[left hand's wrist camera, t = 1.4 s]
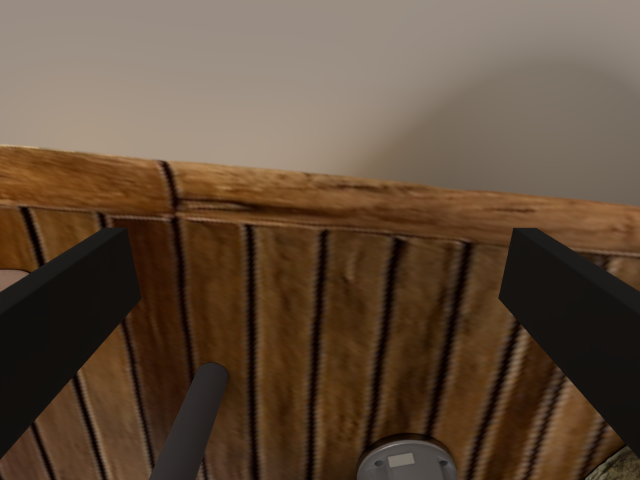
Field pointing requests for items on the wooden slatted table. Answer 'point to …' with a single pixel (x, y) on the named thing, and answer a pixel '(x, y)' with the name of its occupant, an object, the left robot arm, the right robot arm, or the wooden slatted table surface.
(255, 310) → the wooden slatted table surface
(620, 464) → the fossil
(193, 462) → the bottle
